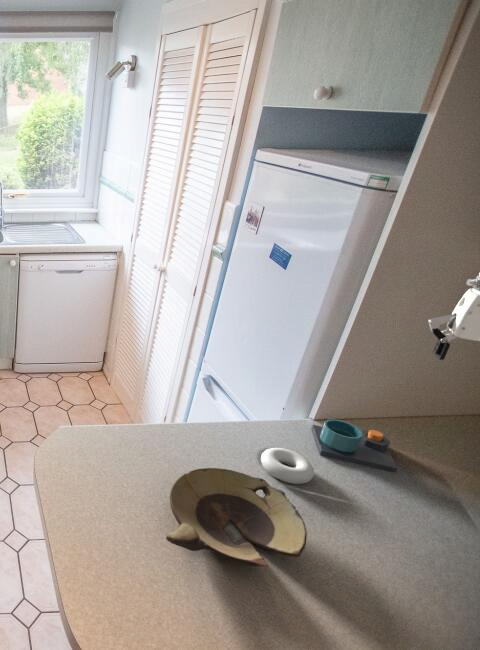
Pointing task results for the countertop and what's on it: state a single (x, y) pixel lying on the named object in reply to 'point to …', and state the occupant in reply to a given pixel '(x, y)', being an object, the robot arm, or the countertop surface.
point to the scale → (360, 451)
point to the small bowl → (340, 435)
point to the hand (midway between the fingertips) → (467, 361)
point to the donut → (294, 475)
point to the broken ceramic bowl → (234, 516)
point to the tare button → (375, 435)
